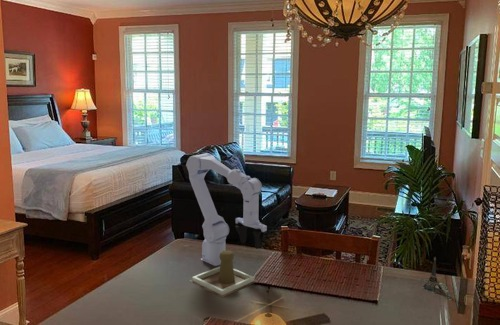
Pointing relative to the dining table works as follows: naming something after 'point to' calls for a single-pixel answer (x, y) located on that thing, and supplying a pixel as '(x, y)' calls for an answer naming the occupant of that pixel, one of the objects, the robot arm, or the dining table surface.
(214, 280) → the board
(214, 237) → the robot arm
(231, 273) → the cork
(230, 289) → the walled square frame
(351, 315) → the dining table surface
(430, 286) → the eiffel tower figurine
